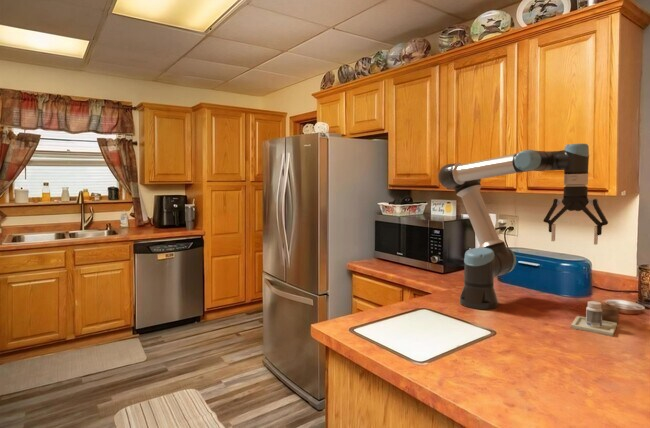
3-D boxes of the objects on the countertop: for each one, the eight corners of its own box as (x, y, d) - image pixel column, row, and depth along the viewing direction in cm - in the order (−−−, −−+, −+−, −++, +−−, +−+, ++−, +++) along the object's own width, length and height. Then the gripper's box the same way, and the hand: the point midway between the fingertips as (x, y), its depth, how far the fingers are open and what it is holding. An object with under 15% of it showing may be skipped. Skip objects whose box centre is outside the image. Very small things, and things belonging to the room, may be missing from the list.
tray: (570, 328, 136) (570, 324, 136) (577, 318, 145) (577, 315, 145) (612, 336, 128) (613, 333, 128) (616, 326, 137) (617, 322, 137)
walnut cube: (601, 322, 142) (601, 308, 142) (598, 317, 146) (599, 304, 146) (618, 324, 140) (618, 310, 139) (615, 319, 144) (615, 306, 144)
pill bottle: (604, 328, 134) (605, 304, 133) (589, 327, 135) (590, 304, 134) (597, 323, 139) (598, 300, 138) (583, 322, 140) (584, 300, 139)
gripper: (535, 186, 149) (534, 240, 151) (616, 185, 132) (613, 246, 134) (540, 186, 155) (539, 238, 156) (618, 185, 138) (616, 244, 140)
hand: (573, 242), depth 145 cm, fingers open, 13 cm apart
